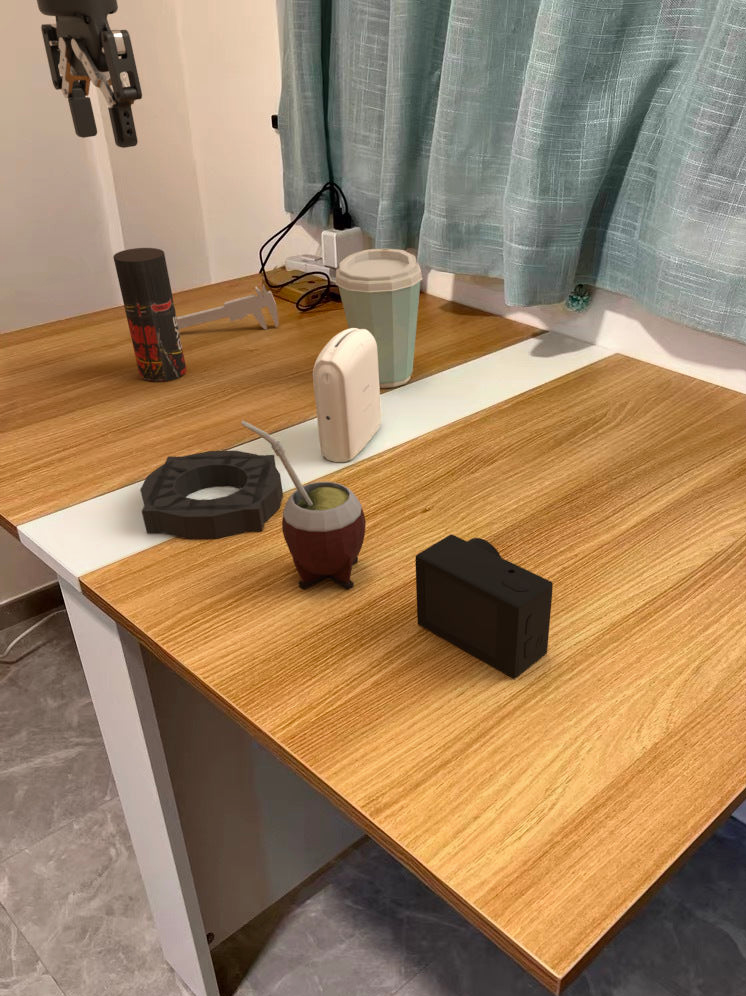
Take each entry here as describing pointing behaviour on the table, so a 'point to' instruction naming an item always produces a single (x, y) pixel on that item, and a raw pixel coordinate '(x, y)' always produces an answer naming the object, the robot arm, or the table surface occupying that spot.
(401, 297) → the disposable coffee cup
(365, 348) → the photo printer
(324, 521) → the mate gourd
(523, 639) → the digital camera
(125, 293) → the deodorant
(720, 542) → the table surface
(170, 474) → the dock pad
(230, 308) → the caliper
